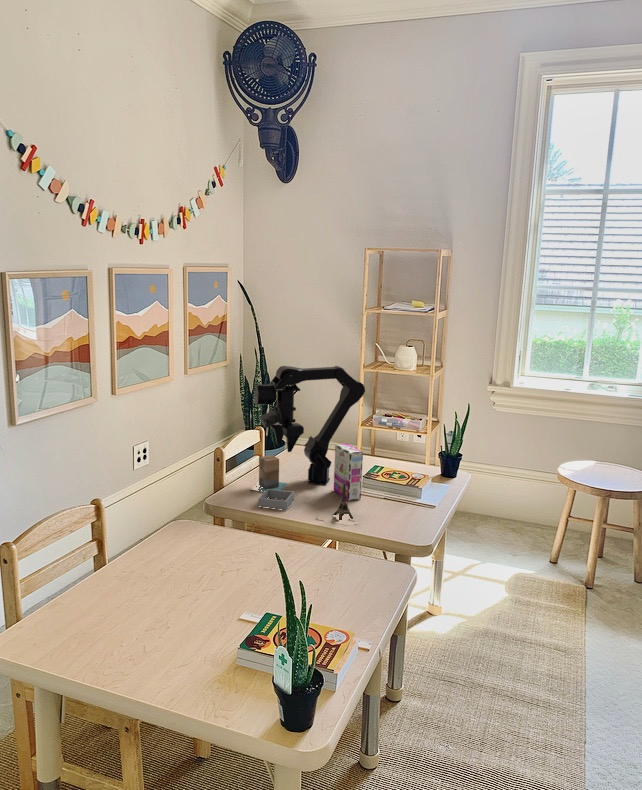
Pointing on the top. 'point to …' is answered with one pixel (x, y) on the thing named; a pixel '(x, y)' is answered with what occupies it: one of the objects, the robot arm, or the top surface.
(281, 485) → the mat
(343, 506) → the eiffel tower figurine
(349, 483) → the candy bar box
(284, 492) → the crate
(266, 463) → the block
